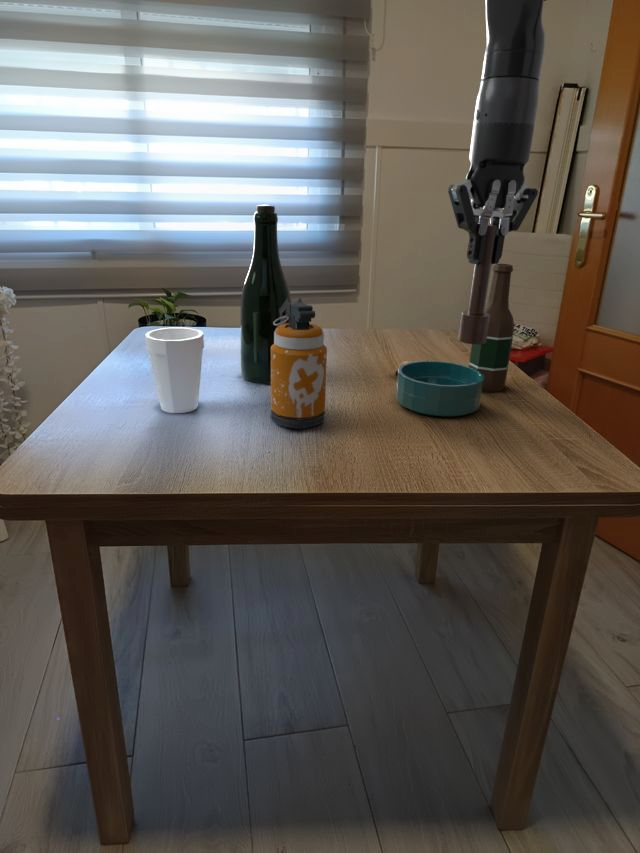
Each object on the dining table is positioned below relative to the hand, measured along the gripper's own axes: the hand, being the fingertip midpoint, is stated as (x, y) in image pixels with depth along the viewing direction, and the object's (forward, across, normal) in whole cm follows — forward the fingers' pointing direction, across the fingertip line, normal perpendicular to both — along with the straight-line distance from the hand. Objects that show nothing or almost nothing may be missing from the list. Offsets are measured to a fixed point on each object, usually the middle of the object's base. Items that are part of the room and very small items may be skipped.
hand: (483, 262), depth 79 cm
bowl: (+27, +7, +16) cm, 32 cm away
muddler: (+11, 0, 0) cm, 11 cm away
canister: (+28, -20, +18) cm, 39 cm away
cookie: (+28, +13, +30) cm, 43 cm away
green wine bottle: (+28, -18, +41) cm, 53 cm away
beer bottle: (+28, +22, +21) cm, 41 cm away
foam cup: (+28, -38, +30) cm, 55 cm away
